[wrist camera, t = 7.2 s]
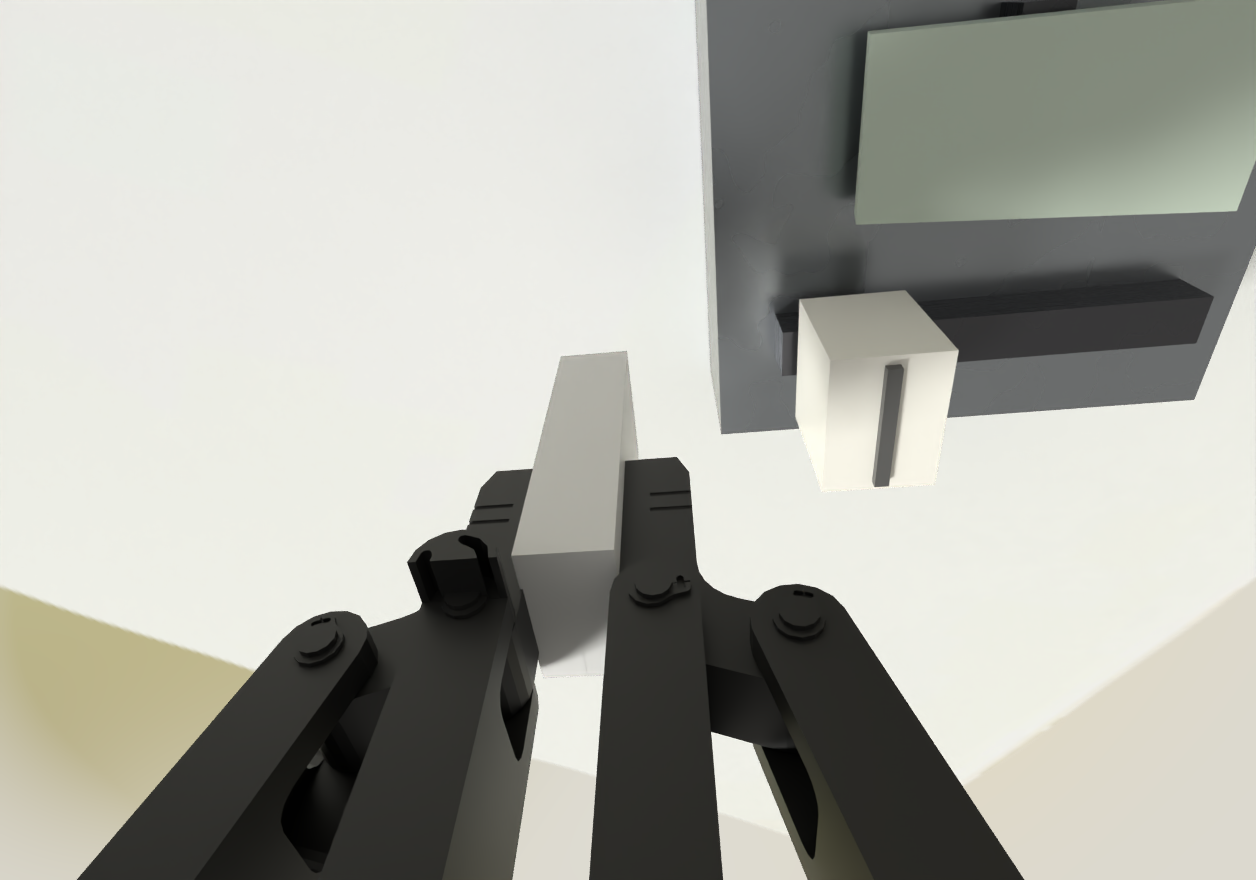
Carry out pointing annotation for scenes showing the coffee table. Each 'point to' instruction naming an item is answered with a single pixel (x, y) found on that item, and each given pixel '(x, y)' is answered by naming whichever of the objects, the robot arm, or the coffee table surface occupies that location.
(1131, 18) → the panel
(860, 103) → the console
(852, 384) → the fader knob
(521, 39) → the coffee table surface
